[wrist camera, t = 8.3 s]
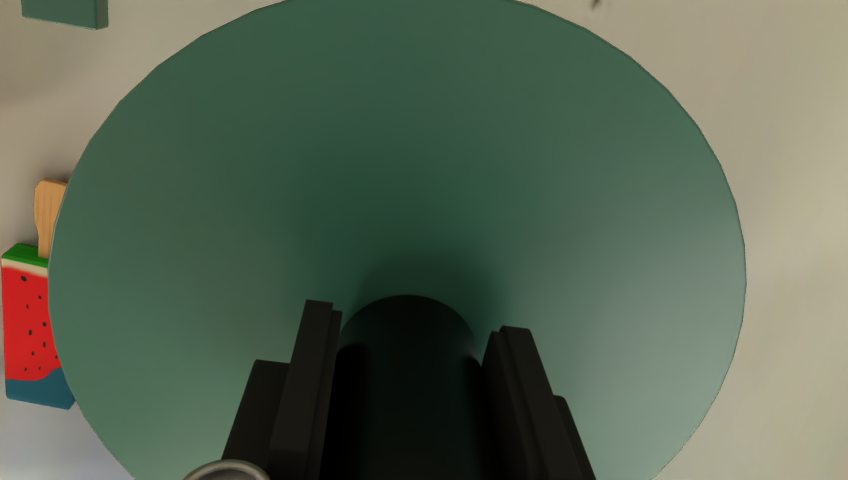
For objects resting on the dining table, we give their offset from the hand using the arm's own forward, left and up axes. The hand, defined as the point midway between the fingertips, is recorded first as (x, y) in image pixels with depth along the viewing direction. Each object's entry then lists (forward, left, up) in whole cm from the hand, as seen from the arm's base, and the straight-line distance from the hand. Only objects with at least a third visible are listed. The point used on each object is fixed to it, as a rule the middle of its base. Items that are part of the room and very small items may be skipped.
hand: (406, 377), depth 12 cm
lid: (0, 0, -1) cm, 1 cm away
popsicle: (-18, -14, -22) cm, 32 cm away
